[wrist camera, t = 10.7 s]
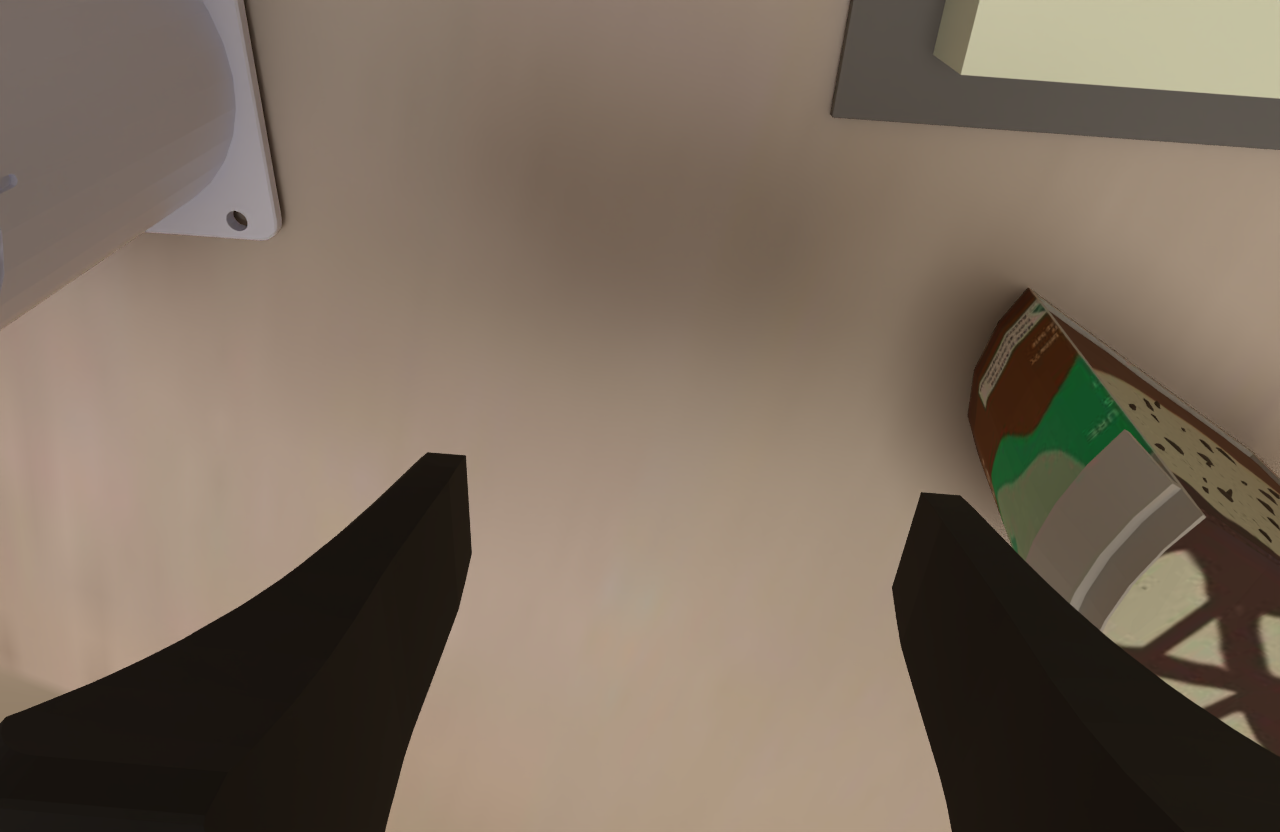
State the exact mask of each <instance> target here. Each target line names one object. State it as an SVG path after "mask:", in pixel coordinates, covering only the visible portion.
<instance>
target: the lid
mask: <svg viewBox="0 0 1280 832" xmlns="http://www.w3.org/2000/svg"><path fill="white" fill-rule="evenodd" d="M933 55H934V56H936V57H937V58H938V59H940V60H941V61H942V62H944V63H945V64H947V65H948V66H949V67H951V68H952V69H953V70H955V71H956V72H958V73H959V74H960V75H970V76H984V77H997V78H1010V79H1024V80H1037V81H1051V82H1064V83H1077V84H1091V85H1104V86H1118V87H1131V88H1144V89H1158V90H1171V91H1185V92H1198V93H1211V94H1225V95H1238V96H1252V97H1265V98H1278V99H1280V0H946V2H945V6H944V10H943V14H942V19H941V23H940V27H939V31H938V36H937V40H936V44H935V48H934V53H933Z"/></svg>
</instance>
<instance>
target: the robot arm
mask: <svg viewBox="0 0 1280 832" xmlns="http://www.w3.org/2000/svg"><path fill="white" fill-rule="evenodd" d="M233 211H237V212H240V213H242V214H243V215H244V216H245V217H246V220H247V222H248V223H247V226H245V225H242V224H240V223H239V222H237V221H236V220H235V218H234V215H233ZM281 226H282V217H281V211H280V206H279V200H278V194H277V189H276V183H275V177H274V172H273V166H272V160H271V154H270V149H269V143H268V137H267V132H266V126H265V120H264V115H263V109H262V103H261V97H260V92H259V86H258V80H257V75H256V69H255V63H254V58H253V52H252V46H251V40H250V35H249V29H248V23H247V18H246V12H245V6H244V1H243V0H0V330H1V329H3V328H4V327H6V326H7V325H9V324H10V323H12V322H13V321H15V320H16V319H17V318H19V317H20V316H22V315H23V314H25V313H26V312H28V311H29V310H31V309H32V308H34V307H35V306H36V305H38V304H39V303H41V302H42V301H44V300H45V299H47V298H48V297H50V296H51V295H53V294H54V293H56V292H57V291H58V290H60V289H61V288H63V287H64V286H66V285H67V284H69V283H70V282H72V281H73V280H75V279H76V278H77V277H79V276H80V275H82V274H83V273H85V272H86V271H88V270H89V269H91V268H92V267H94V266H95V265H96V264H98V263H99V262H101V261H102V260H104V259H105V258H107V257H108V256H110V255H111V254H113V253H114V252H116V251H117V250H118V249H120V248H121V247H123V246H124V245H126V244H127V243H129V242H130V241H132V240H133V239H135V238H136V237H137V236H139V235H140V234H142V233H143V232H149V233H163V234H177V235H191V236H205V237H219V238H232V239H246V240H260V241H262V240H269V239H270V238H272V237H273V236H275V235H276V234H277V233H278V232H279V230H280V228H281ZM471 554H472V550H471V533H470V517H469V501H468V484H467V468H466V455H453V454H441V453H429V452H428V453H426V454H425V455H424V456H423V457H421V458H420V459H419V460H418V461H417V462H416V463H415V464H414V465H413V466H412V467H411V468H410V469H409V470H408V471H407V472H406V473H405V474H403V475H402V476H401V477H400V478H399V479H398V480H397V481H396V482H395V483H394V484H393V485H392V486H391V487H390V488H389V489H388V490H387V491H386V492H385V493H384V494H382V495H381V496H380V497H379V498H378V499H377V500H376V501H375V502H374V503H373V504H372V505H371V506H370V507H368V508H367V509H366V510H365V511H364V512H363V513H362V514H361V515H359V516H358V517H357V518H356V519H355V520H354V521H353V522H352V523H350V524H349V525H348V526H347V527H346V528H345V529H344V530H343V531H341V532H340V533H339V534H338V535H337V536H335V537H334V538H333V539H332V540H330V541H329V542H328V543H327V544H326V545H324V546H323V547H322V548H321V549H319V550H318V551H317V552H316V553H314V554H313V555H312V556H311V557H309V558H308V559H307V560H306V561H304V562H303V563H302V564H301V565H299V566H298V567H297V568H295V569H294V570H293V571H291V572H290V573H289V574H287V575H286V576H284V577H283V578H282V579H280V580H279V581H277V582H276V583H275V584H273V585H272V586H270V587H269V588H267V589H266V590H264V591H263V592H261V593H260V594H258V595H257V596H255V597H254V598H252V599H250V600H249V601H247V602H246V603H244V604H243V605H241V606H239V607H238V608H236V609H234V610H233V611H231V612H229V613H227V614H226V615H224V616H222V617H220V618H219V619H217V620H215V621H214V622H212V623H210V624H208V625H207V626H205V627H203V628H201V629H200V630H198V631H196V632H194V633H193V634H191V635H189V636H187V637H186V638H184V639H182V640H180V641H178V642H176V643H175V644H173V645H171V646H169V647H167V648H165V649H163V650H161V651H159V652H157V653H155V654H153V655H151V656H149V657H147V658H145V659H143V660H141V661H139V662H136V663H134V664H132V665H130V666H128V667H126V668H124V669H121V670H119V671H117V672H115V673H113V674H111V675H109V676H106V677H104V678H102V679H99V680H97V681H95V682H93V683H90V684H88V685H86V686H83V687H81V688H78V689H76V690H73V691H71V692H68V693H66V694H63V695H61V696H58V697H56V698H53V699H51V700H49V701H46V702H43V703H41V704H39V705H36V706H34V707H31V708H29V709H26V710H24V711H21V712H18V713H15V714H13V715H10V716H8V717H6V718H5V719H4V720H3V721H2V722H1V723H0V832H385V829H386V825H387V821H388V817H389V813H390V809H391V805H392V802H393V798H394V794H395V790H396V787H397V783H398V779H399V775H400V771H401V768H402V764H403V760H404V757H405V754H406V750H407V747H408V744H409V741H410V738H411V735H412V732H413V729H414V727H415V724H416V721H417V719H418V716H419V713H420V711H421V708H422V705H423V703H424V700H425V698H426V695H427V692H428V690H429V687H430V684H431V682H432V679H433V676H434V674H435V671H436V668H437V666H438V663H439V661H440V658H441V655H442V653H443V650H444V647H445V645H446V642H447V639H448V636H449V634H450V631H451V628H452V626H453V623H454V620H455V618H456V615H457V612H458V609H459V605H460V601H461V597H462V593H463V589H464V585H465V581H466V576H467V572H468V567H469V563H470V559H471ZM892 591H893V598H894V605H895V612H896V620H897V625H898V631H899V637H900V643H901V648H902V651H903V655H904V658H905V662H906V665H907V669H908V672H909V676H910V679H911V682H912V686H913V689H914V693H915V696H916V699H917V702H918V706H919V709H920V712H921V716H922V719H923V722H924V726H925V729H926V732H927V736H928V739H929V742H930V745H931V749H932V752H933V755H934V759H935V762H936V765H937V769H938V772H939V776H940V779H941V783H942V787H943V791H944V795H945V799H946V803H947V808H948V814H949V819H950V824H951V829H952V832H1280V757H1279V756H1277V755H1275V754H1274V753H1272V752H1270V751H1269V750H1267V749H1265V748H1264V747H1262V746H1261V745H1259V744H1257V743H1256V742H1254V741H1252V740H1251V739H1249V738H1248V737H1246V736H1244V735H1243V734H1241V733H1239V732H1238V731H1236V730H1235V729H1233V728H1232V727H1230V726H1229V725H1227V724H1226V723H1224V722H1223V721H1221V720H1220V719H1218V718H1217V717H1215V716H1214V715H1212V714H1211V713H1209V712H1208V711H1206V710H1205V709H1203V708H1202V707H1200V706H1199V705H1197V704H1196V703H1194V702H1193V701H1191V700H1190V699H1188V698H1187V697H1185V696H1184V695H1183V694H1181V693H1180V692H1178V691H1177V690H1176V689H1174V688H1173V687H1171V686H1170V685H1169V684H1167V683H1166V682H1164V681H1163V680H1162V679H1161V678H1159V677H1158V676H1157V675H1155V674H1154V673H1153V672H1151V671H1150V670H1149V669H1147V668H1146V667H1145V666H1144V665H1142V664H1141V663H1140V662H1138V661H1137V660H1136V659H1134V658H1133V657H1132V656H1131V655H1129V654H1128V653H1127V652H1125V651H1124V650H1123V649H1122V648H1120V647H1119V646H1118V645H1117V644H1116V643H1114V642H1113V641H1112V640H1111V639H1109V638H1108V637H1107V636H1106V635H1105V634H1103V633H1102V632H1101V631H1100V630H1099V629H1098V628H1097V627H1096V626H1094V625H1093V624H1092V623H1091V622H1090V621H1089V620H1088V619H1086V618H1085V617H1084V616H1083V615H1082V614H1081V613H1080V612H1078V611H1077V610H1076V609H1075V608H1074V607H1073V606H1072V605H1071V604H1070V603H1068V602H1067V601H1066V600H1065V599H1064V598H1063V597H1062V596H1061V595H1060V594H1059V593H1058V592H1057V591H1056V590H1054V589H1053V588H1052V587H1051V586H1050V585H1049V584H1048V583H1047V582H1046V581H1045V580H1044V579H1043V578H1042V577H1041V576H1040V575H1039V574H1038V573H1037V572H1036V571H1035V570H1034V569H1033V568H1032V567H1031V566H1030V565H1029V564H1028V563H1027V562H1026V561H1025V560H1024V559H1023V558H1022V557H1021V556H1020V555H1019V554H1018V553H1017V552H1016V551H1015V550H1014V549H1013V548H1012V547H1011V546H1010V545H1009V544H1008V543H1007V542H1006V541H1005V540H1004V539H1003V538H1002V537H1001V536H1000V535H999V534H998V533H997V532H996V531H995V530H994V529H993V528H992V527H991V526H990V525H989V524H988V522H987V521H986V520H985V519H984V518H983V517H982V516H981V515H980V514H979V513H978V512H977V511H976V510H975V509H974V508H973V507H972V506H971V505H970V504H969V503H968V502H967V501H965V500H964V499H963V498H962V497H961V496H960V495H948V494H936V493H923V492H921V495H920V498H919V501H918V505H917V508H916V511H915V514H914V518H913V521H912V524H911V527H910V531H909V534H908V537H907V540H906V544H905V547H904V550H903V554H902V557H901V560H900V563H899V567H898V570H897V573H896V576H895V580H894V583H893V586H892Z"/></svg>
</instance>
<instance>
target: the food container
mask: <svg viewBox="0 0 1280 832" xmlns="http://www.w3.org/2000/svg"><path fill="white" fill-rule="evenodd" d="M968 418H969V422H970V426H971V430H972V433H973V437H974V441H975V445H976V448H977V452H978V455H979V458H980V461H981V464H982V466H983V469H984V472H985V474H986V477H987V480H988V483H989V485H990V488H991V491H992V494H993V496H994V499H995V502H996V504H997V507H998V510H999V513H1000V515H1001V518H1002V521H1003V524H1004V526H1005V529H1006V532H1007V534H1008V537H1009V540H1010V543H1011V545H1012V548H1013V549H1014V550H1015V551H1016V552H1017V553H1018V554H1019V555H1020V556H1021V557H1022V558H1023V559H1024V560H1025V561H1026V562H1027V563H1028V564H1029V565H1030V566H1031V567H1032V568H1033V569H1034V570H1035V571H1036V572H1037V573H1038V574H1039V575H1040V576H1041V577H1042V578H1043V579H1044V580H1045V581H1046V582H1047V583H1048V584H1049V585H1050V586H1051V587H1052V588H1053V589H1054V590H1056V591H1057V592H1058V593H1059V594H1060V595H1061V596H1062V597H1063V598H1064V599H1065V600H1066V601H1067V602H1068V603H1070V604H1071V605H1072V606H1073V607H1074V608H1075V609H1076V610H1077V611H1078V612H1080V613H1081V614H1082V615H1083V616H1084V617H1085V618H1086V619H1088V620H1089V621H1090V622H1091V623H1092V624H1093V625H1094V626H1096V627H1097V628H1098V629H1099V630H1100V631H1101V632H1102V633H1103V634H1105V635H1106V636H1107V637H1108V638H1109V639H1111V640H1112V641H1113V642H1114V643H1116V644H1117V645H1118V646H1119V647H1120V648H1122V649H1123V650H1124V651H1125V652H1127V653H1128V654H1129V655H1131V656H1132V657H1133V658H1134V659H1136V660H1137V661H1138V662H1140V663H1141V664H1142V665H1144V666H1145V667H1146V668H1147V669H1149V670H1150V671H1151V672H1153V673H1154V674H1155V675H1157V676H1158V677H1159V678H1161V679H1162V680H1163V681H1164V682H1166V683H1167V684H1169V685H1170V686H1171V687H1173V688H1174V689H1176V690H1177V691H1178V692H1180V693H1181V694H1183V695H1184V696H1185V697H1187V698H1188V699H1190V700H1191V701H1193V702H1194V703H1196V704H1197V705H1199V706H1200V707H1202V708H1203V709H1205V710H1206V711H1208V712H1209V713H1211V714H1212V715H1214V716H1215V717H1217V718H1218V719H1220V720H1221V721H1223V722H1224V723H1226V724H1227V725H1229V726H1230V727H1232V728H1233V729H1235V730H1236V731H1238V732H1239V733H1241V734H1243V735H1244V736H1246V737H1248V738H1249V739H1251V740H1252V741H1254V742H1256V743H1257V744H1259V745H1261V746H1262V747H1264V748H1265V749H1267V750H1269V751H1270V752H1272V753H1274V754H1275V755H1277V756H1279V757H1280V478H1279V477H1278V476H1277V475H1276V474H1275V473H1274V472H1273V471H1272V470H1271V469H1270V468H1269V467H1268V466H1267V465H1266V464H1265V463H1264V462H1263V461H1262V460H1261V459H1260V458H1258V457H1257V456H1256V455H1255V454H1254V453H1253V452H1252V451H1251V450H1249V449H1248V448H1246V447H1245V446H1244V445H1242V444H1241V443H1240V442H1238V441H1237V440H1236V439H1234V438H1233V437H1231V436H1230V435H1229V434H1227V433H1226V432H1225V431H1223V430H1222V429H1221V428H1219V427H1218V426H1216V425H1215V424H1214V423H1212V422H1211V421H1210V420H1208V419H1207V418H1206V417H1204V416H1203V415H1201V414H1200V413H1199V412H1197V411H1196V410H1195V409H1193V408H1192V407H1191V406H1189V405H1188V404H1186V403H1185V402H1184V401H1182V400H1181V399H1180V398H1178V397H1177V396H1176V395H1174V394H1173V393H1171V392H1170V391H1169V390H1167V389H1166V388H1165V387H1163V386H1162V385H1161V384H1159V383H1158V382H1156V381H1155V380H1154V379H1152V378H1151V377H1150V376H1148V375H1147V374H1146V373H1144V372H1143V371H1141V370H1140V369H1139V368H1137V367H1136V366H1135V365H1133V364H1132V363H1131V362H1129V361H1128V360H1127V359H1125V358H1124V357H1122V356H1121V355H1120V354H1118V353H1117V352H1116V351H1114V350H1113V349H1112V348H1110V347H1109V346H1107V345H1106V344H1105V343H1103V342H1102V341H1101V340H1099V339H1098V338H1097V337H1095V336H1094V335H1092V334H1091V333H1090V332H1088V331H1087V330H1086V329H1084V328H1083V327H1082V326H1080V325H1079V324H1077V323H1076V322H1075V321H1073V320H1072V319H1071V318H1069V317H1068V316H1067V315H1065V314H1064V313H1062V312H1061V311H1060V310H1058V309H1057V308H1056V307H1054V306H1053V305H1052V304H1050V303H1049V302H1047V301H1046V300H1045V299H1043V298H1042V297H1041V296H1039V295H1038V294H1037V293H1035V292H1034V291H1032V290H1031V289H1030V288H1028V289H1027V290H1026V291H1025V292H1024V293H1023V294H1022V296H1021V297H1020V298H1019V299H1018V300H1017V301H1016V302H1015V304H1014V305H1013V306H1012V307H1011V308H1010V309H1009V310H1008V312H1007V313H1006V314H1005V315H1004V316H1003V317H1002V319H1001V320H1000V321H999V322H998V324H997V326H996V328H995V330H994V332H993V334H992V336H991V338H990V340H989V342H988V344H987V346H986V347H985V349H984V351H983V353H982V355H981V357H980V359H979V361H978V363H977V365H976V367H975V369H974V374H973V381H972V388H971V395H970V402H969V409H968Z"/></svg>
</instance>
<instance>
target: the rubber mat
mask: <svg viewBox="0 0 1280 832" xmlns="http://www.w3.org/2000/svg"><path fill="white" fill-rule="evenodd" d="M945 2H946V0H851V2H850V8H849V13H848V19H847V25H846V30H845V36H844V41H843V47H842V53H841V58H840V64H839V69H838V75H837V81H836V86H835V92H834V97H833V103H832V108H831V116H832V117H834V118H848V119H862V120H876V121H889V122H903V123H917V124H930V125H944V126H958V127H972V128H985V129H999V130H1013V131H1027V132H1040V133H1054V134H1068V135H1082V136H1095V137H1109V138H1123V139H1136V140H1150V141H1164V142H1178V143H1191V144H1205V145H1219V146H1233V147H1246V148H1260V149H1274V150H1280V99H1278V98H1265V97H1252V96H1238V95H1225V94H1211V93H1198V92H1185V91H1171V90H1158V89H1144V88H1131V87H1118V86H1104V85H1091V84H1077V83H1064V82H1051V81H1037V80H1024V79H1010V78H997V77H984V76H970V75H960V74H959V73H958V72H956V71H955V70H953V69H952V68H951V67H949V66H948V65H947V64H945V63H944V62H942V61H941V60H940V59H938V58H937V57H936V56H934V55H933V53H934V48H935V44H936V40H937V36H938V31H939V27H940V23H941V19H942V14H943V10H944V6H945Z"/></svg>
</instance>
